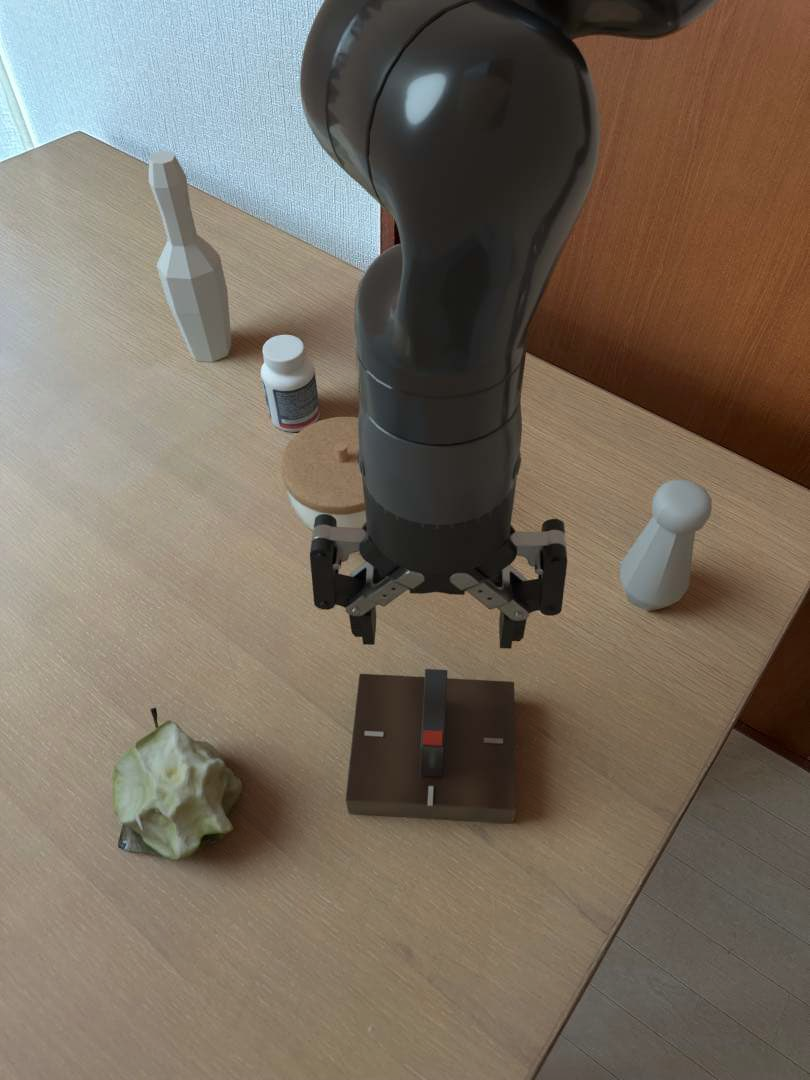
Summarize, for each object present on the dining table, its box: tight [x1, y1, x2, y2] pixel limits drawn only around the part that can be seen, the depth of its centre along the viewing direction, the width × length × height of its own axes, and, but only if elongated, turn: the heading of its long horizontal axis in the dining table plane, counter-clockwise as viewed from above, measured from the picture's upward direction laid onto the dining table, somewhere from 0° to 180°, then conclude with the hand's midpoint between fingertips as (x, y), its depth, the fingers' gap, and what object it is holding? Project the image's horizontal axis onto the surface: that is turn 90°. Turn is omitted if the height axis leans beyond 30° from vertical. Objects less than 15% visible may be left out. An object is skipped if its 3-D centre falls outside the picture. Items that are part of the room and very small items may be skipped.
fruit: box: [112, 707, 242, 862], centre depth 59 cm, size 9×9×8 cm
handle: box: [420, 668, 448, 777], centre depth 59 cm, size 6×2×5 cm, turn 176°
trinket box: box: [280, 416, 366, 532], centre depth 74 cm, size 11×11×9 cm
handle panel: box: [345, 673, 517, 825], centre depth 62 cm, size 12×10×3 cm
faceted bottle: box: [148, 150, 233, 363], centre depth 84 cm, size 6×6×22 cm
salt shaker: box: [619, 478, 713, 612], centre depth 67 cm, size 6×6×13 cm
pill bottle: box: [260, 334, 321, 433], centre depth 83 cm, size 5×5×9 cm
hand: (436, 634), depth 53 cm, fingers open, 8 cm apart
